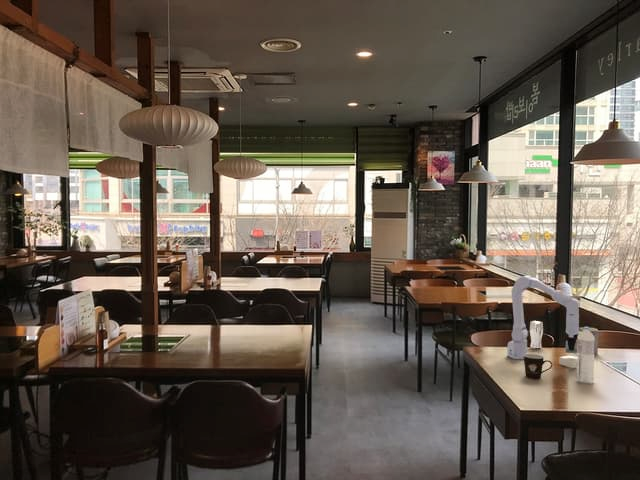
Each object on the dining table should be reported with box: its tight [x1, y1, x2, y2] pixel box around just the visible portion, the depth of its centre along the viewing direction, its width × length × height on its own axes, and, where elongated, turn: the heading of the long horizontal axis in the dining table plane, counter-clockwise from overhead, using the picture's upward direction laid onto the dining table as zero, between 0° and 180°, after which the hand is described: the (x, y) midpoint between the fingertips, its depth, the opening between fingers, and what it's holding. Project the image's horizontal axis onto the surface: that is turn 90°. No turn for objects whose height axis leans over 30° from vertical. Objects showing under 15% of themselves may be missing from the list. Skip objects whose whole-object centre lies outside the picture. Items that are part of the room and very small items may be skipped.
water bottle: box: [576, 326, 595, 385], centre depth 234 cm, size 7×7×25 cm
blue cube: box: [565, 340, 578, 355], centre depth 263 cm, size 5×5×5 cm
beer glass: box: [529, 320, 544, 349], centre depth 302 cm, size 7×7×15 cm
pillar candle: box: [579, 326, 599, 356], centre depth 289 cm, size 10×10×15 cm
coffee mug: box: [523, 353, 553, 381], centre depth 239 cm, size 12×9×10 cm
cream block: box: [558, 355, 577, 369], centre depth 263 cm, size 8×8×4 cm
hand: (571, 349), depth 263 cm, fingers closed on blue cube, 5 cm apart
